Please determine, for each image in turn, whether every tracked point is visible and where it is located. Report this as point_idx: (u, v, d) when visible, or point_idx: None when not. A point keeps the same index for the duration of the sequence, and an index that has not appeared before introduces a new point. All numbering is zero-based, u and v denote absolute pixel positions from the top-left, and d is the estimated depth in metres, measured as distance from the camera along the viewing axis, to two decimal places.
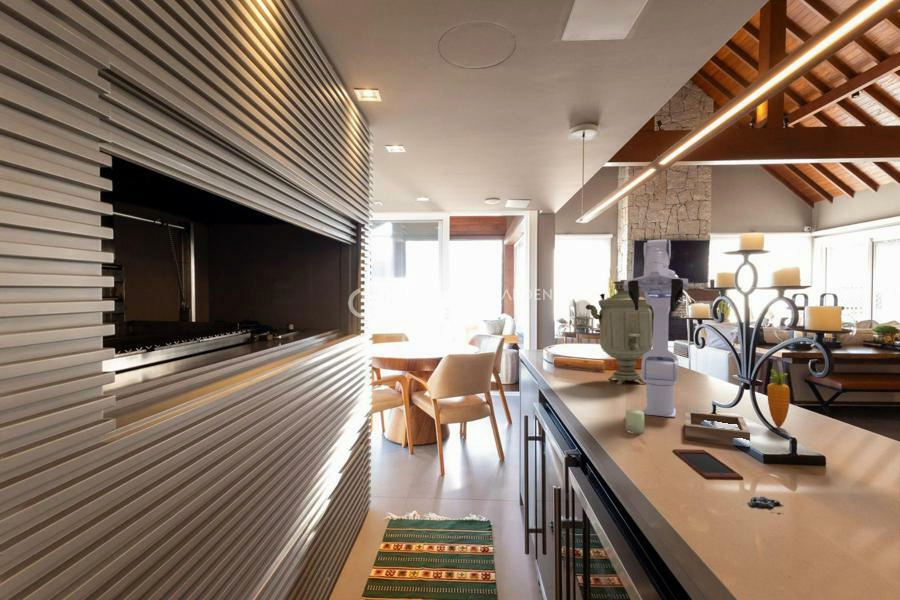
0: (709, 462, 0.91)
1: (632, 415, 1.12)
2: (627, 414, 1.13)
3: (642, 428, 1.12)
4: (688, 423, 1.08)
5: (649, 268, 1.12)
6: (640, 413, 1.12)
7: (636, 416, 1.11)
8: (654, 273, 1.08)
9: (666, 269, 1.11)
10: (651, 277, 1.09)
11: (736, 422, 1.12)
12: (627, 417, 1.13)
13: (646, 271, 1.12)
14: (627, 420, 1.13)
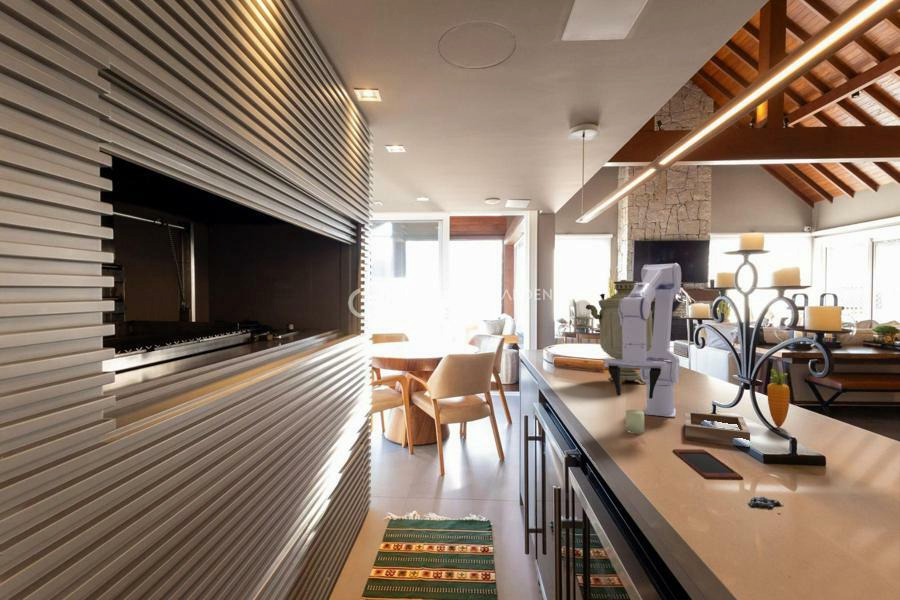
0: (709, 462, 0.91)
1: (632, 415, 1.12)
2: (627, 414, 1.13)
3: (642, 428, 1.12)
4: (688, 423, 1.08)
5: (627, 351, 1.11)
6: (640, 413, 1.12)
7: (636, 416, 1.11)
8: None
9: (644, 348, 1.11)
10: None
11: (736, 422, 1.12)
12: (627, 417, 1.13)
13: (624, 352, 1.12)
14: (627, 420, 1.13)
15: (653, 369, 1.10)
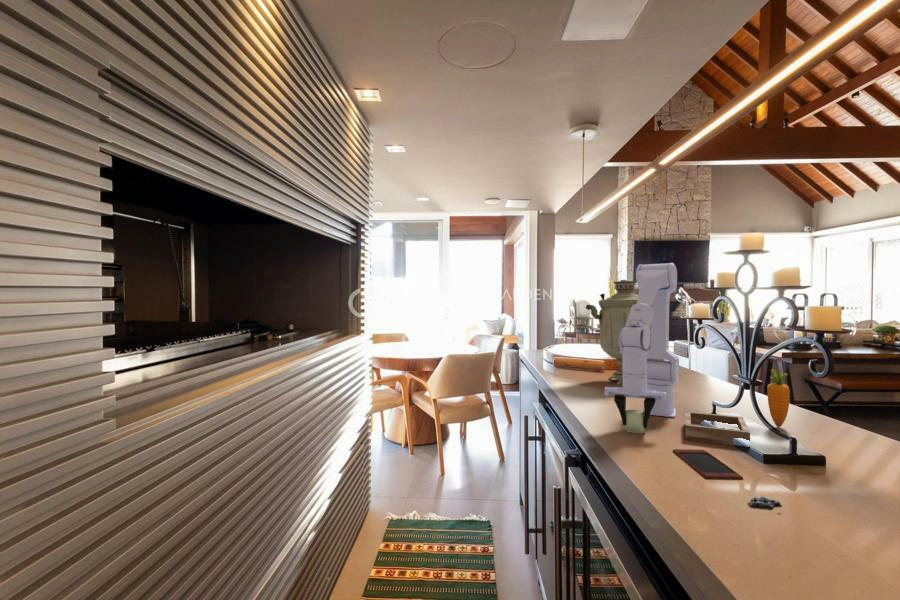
0: (709, 462, 0.91)
1: (632, 415, 1.12)
2: (627, 414, 1.13)
3: (642, 428, 1.12)
4: (688, 423, 1.08)
5: (627, 381, 1.12)
6: (640, 413, 1.12)
7: (636, 416, 1.11)
8: (633, 395, 1.10)
9: (644, 378, 1.11)
10: None
11: (736, 422, 1.12)
12: (627, 417, 1.13)
13: (625, 382, 1.12)
14: (627, 420, 1.13)
15: (653, 399, 1.10)
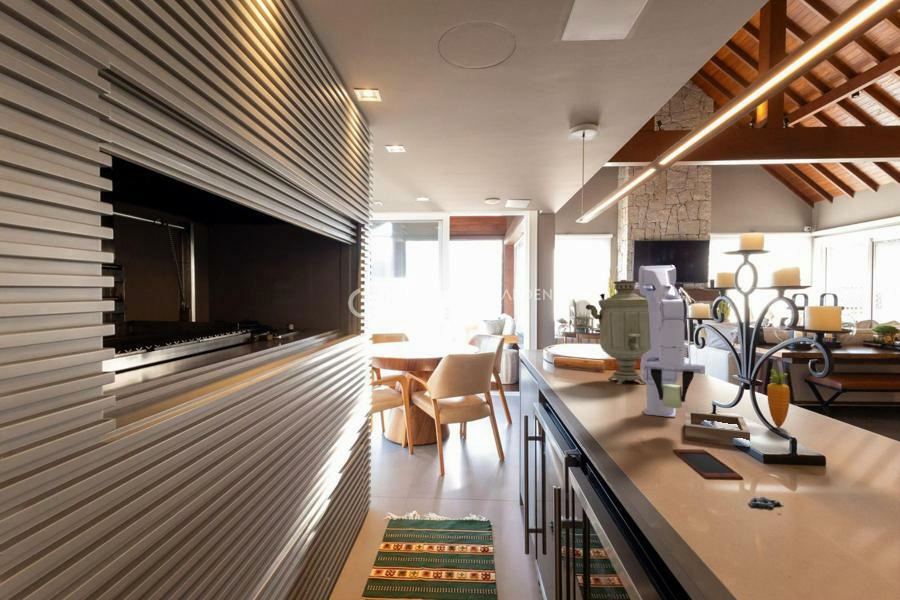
0: (709, 462, 0.91)
1: (669, 389, 1.10)
2: (664, 388, 1.11)
3: (680, 402, 1.09)
4: (688, 423, 1.08)
5: (665, 354, 1.10)
6: (677, 387, 1.10)
7: (674, 390, 1.09)
8: (671, 368, 1.08)
9: (682, 351, 1.09)
10: None
11: (736, 422, 1.12)
12: (664, 391, 1.11)
13: (662, 355, 1.11)
14: (664, 394, 1.11)
15: (692, 372, 1.08)
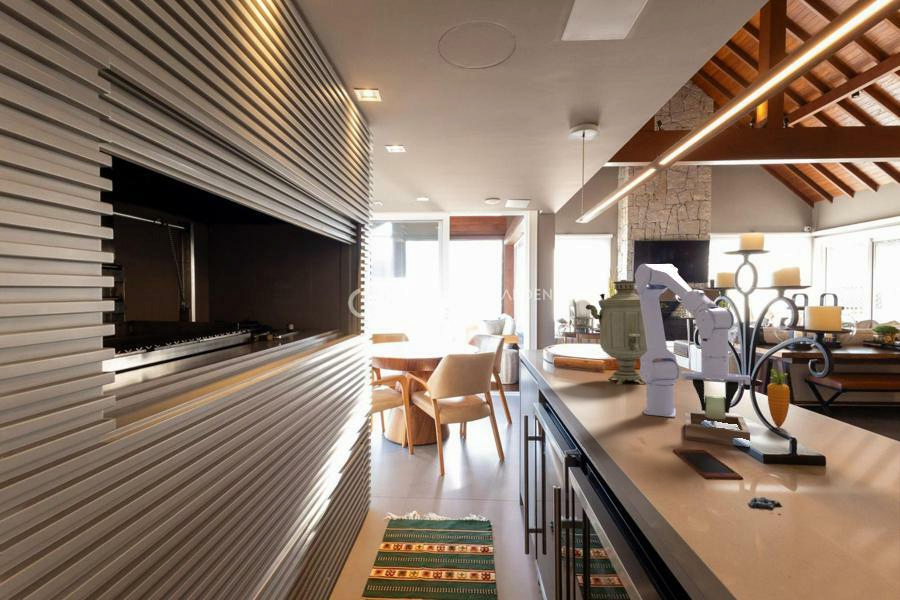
0: (709, 462, 0.91)
1: (713, 400, 1.07)
2: (707, 399, 1.09)
3: (724, 413, 1.07)
4: (688, 423, 1.08)
5: (708, 364, 1.08)
6: (721, 398, 1.08)
7: (718, 401, 1.07)
8: None
9: (726, 361, 1.07)
10: None
11: (736, 422, 1.12)
12: (707, 402, 1.09)
13: (705, 365, 1.08)
14: (707, 405, 1.09)
15: (736, 383, 1.06)
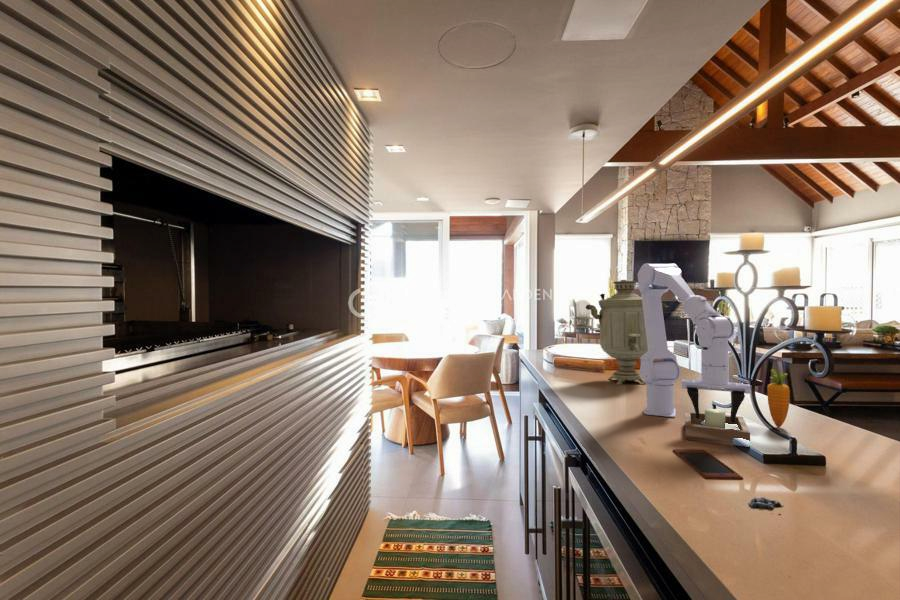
0: (709, 462, 0.91)
1: (713, 414, 1.07)
2: (707, 413, 1.09)
3: None
4: (688, 423, 1.08)
5: (709, 373, 1.08)
6: (721, 412, 1.08)
7: (717, 415, 1.07)
8: (715, 387, 1.06)
9: (726, 370, 1.07)
10: None
11: (736, 422, 1.12)
12: (707, 416, 1.09)
13: (705, 374, 1.08)
14: (707, 419, 1.09)
15: (736, 392, 1.06)
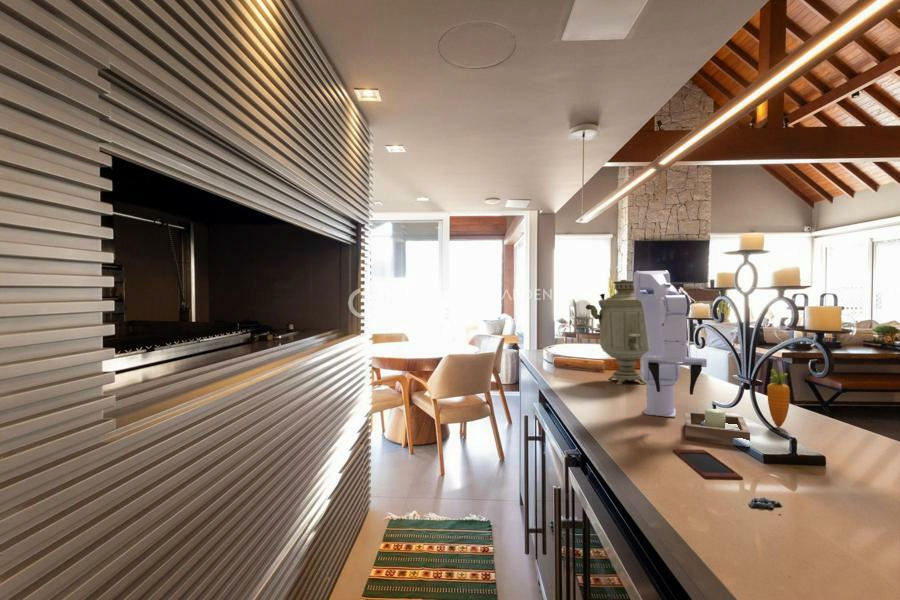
0: (709, 462, 0.91)
1: (713, 414, 1.07)
2: (707, 413, 1.09)
3: None
4: (688, 423, 1.08)
5: (668, 348, 1.13)
6: (721, 412, 1.08)
7: (718, 415, 1.07)
8: (674, 361, 1.12)
9: (685, 345, 1.13)
10: None
11: (736, 422, 1.12)
12: (707, 416, 1.09)
13: (665, 349, 1.14)
14: (707, 419, 1.09)
15: (694, 366, 1.12)
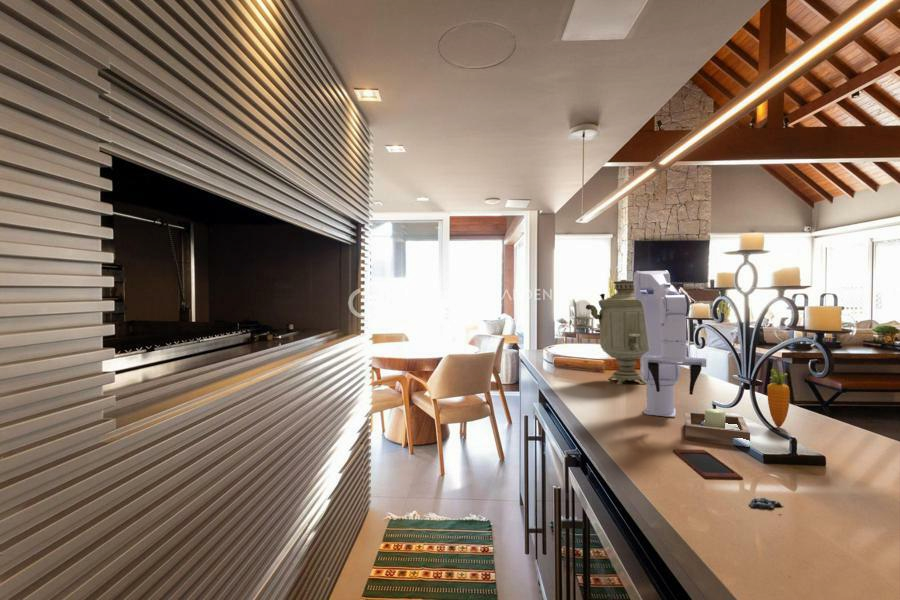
0: (709, 462, 0.91)
1: (713, 414, 1.07)
2: (707, 413, 1.09)
3: None
4: (688, 423, 1.08)
5: (668, 348, 1.13)
6: (721, 412, 1.08)
7: (718, 415, 1.07)
8: (673, 361, 1.12)
9: (684, 345, 1.13)
10: None
11: (736, 422, 1.12)
12: (707, 416, 1.09)
13: (665, 349, 1.14)
14: (707, 419, 1.09)
15: (693, 365, 1.12)
